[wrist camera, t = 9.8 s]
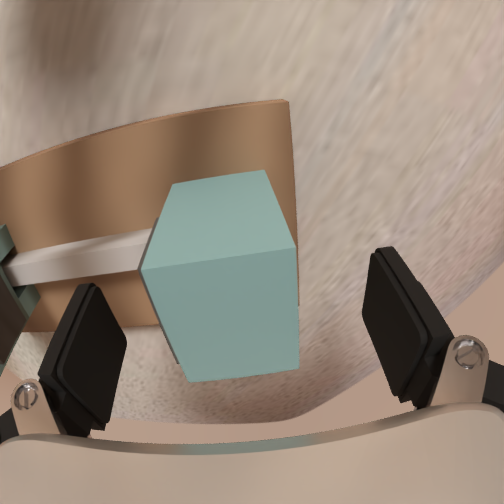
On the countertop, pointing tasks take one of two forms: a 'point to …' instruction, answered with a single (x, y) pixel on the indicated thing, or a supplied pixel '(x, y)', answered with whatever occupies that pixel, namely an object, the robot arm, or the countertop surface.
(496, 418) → the robot arm
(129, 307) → the rail
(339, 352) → the countertop surface
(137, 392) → the countertop surface
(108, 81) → the countertop surface
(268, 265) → the mint green block
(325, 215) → the countertop surface
